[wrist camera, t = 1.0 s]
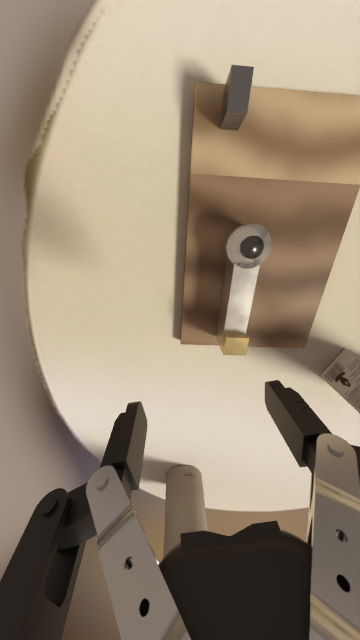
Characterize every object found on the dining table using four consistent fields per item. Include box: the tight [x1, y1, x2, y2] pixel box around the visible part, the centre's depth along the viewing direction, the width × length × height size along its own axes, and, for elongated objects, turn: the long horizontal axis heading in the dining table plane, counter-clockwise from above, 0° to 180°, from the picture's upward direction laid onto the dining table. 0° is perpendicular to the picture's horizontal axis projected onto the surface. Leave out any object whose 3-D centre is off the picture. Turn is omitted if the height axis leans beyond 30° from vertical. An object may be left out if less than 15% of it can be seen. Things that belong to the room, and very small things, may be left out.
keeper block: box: [220, 65, 254, 131], centre depth 17 cm, size 3×2×3 cm, turn 177°
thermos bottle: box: [163, 465, 208, 558], centre depth 30 cm, size 8×8×28 cm
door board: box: [181, 82, 360, 348], centre depth 24 cm, size 28×19×1 cm
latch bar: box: [216, 224, 271, 355], centre depth 23 cm, size 15×4×5 cm, turn 177°
